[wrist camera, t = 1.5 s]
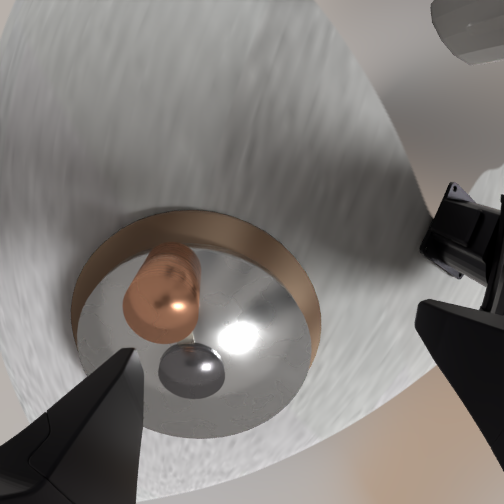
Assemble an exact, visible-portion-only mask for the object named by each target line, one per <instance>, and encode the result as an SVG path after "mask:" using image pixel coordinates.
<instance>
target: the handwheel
mask: <svg viewBox="0 0 504 504" xmlns="http://www.w3.org/2000/svg"><path fill="white" fill-rule="evenodd" d="M77 344H78V351H79V356H80V360H81V363H82V366H83V368H84V371H85V373H86V375H87V376H89V375H90V374H91V373H92V372H93V371H95V370H96V369H97V368H98V367H99V366H101V365H102V364H103V363H104V362H105V361H107V360H108V359H109V358H110V357H111V356H113V355H114V354H115V353H116V352H117V351H119V350H120V349H121V348H129V347H134V348H135V349H136V350H137V352H138V355H139V359H140V362H141V365H142V368H143V371H144V418H143V427H145V428H147V429H150V430H153V431H156V432H159V433H162V434H166V435H170V436H176V437H182V438H195V439H205V438H217V437H224V436H229V435H234V434H237V433H241V432H244V431H247V430H249V429H252V428H254V427H256V426H258V425H260V424H262V423H264V422H266V421H268V420H269V419H271V418H272V417H273V416H275V415H276V414H278V413H279V412H280V411H281V410H282V409H283V408H285V407H286V406H287V405H288V404H289V403H290V401H291V400H292V399H293V398H294V397H295V395H296V394H297V393H298V391H299V389H300V388H301V386H302V384H303V382H304V380H305V378H306V376H307V373H308V369H309V366H310V360H311V338H310V333H309V328H308V325H307V323H306V320H305V317H304V315H303V313H302V312H301V310H300V308H299V307H298V305H297V303H296V301H295V300H294V298H293V296H292V295H291V293H290V291H289V290H288V289H287V288H286V287H285V285H284V284H283V283H282V282H281V281H280V280H279V279H278V278H277V277H276V276H275V275H274V274H273V273H272V272H271V271H270V270H268V269H267V268H265V267H264V266H262V265H261V264H259V263H258V262H256V261H254V260H253V259H251V258H249V257H247V256H245V255H243V254H240V253H238V252H235V251H232V250H229V249H226V248H222V247H218V246H213V245H209V244H198V243H177V242H166V243H163V244H160V245H158V246H156V247H153V248H150V249H147V250H144V251H141V252H139V253H137V254H135V255H133V256H131V257H129V258H127V259H125V260H124V261H122V262H121V263H119V264H118V265H116V266H115V267H114V268H113V269H112V270H111V271H110V272H109V273H108V274H107V275H106V276H104V278H103V279H102V280H101V281H100V283H99V284H98V285H97V286H96V288H95V289H94V290H93V292H92V293H91V294H90V296H89V297H88V299H87V301H86V303H85V305H84V307H83V309H82V312H81V315H80V319H79V322H78V331H77Z"/></svg>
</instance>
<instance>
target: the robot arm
mask: <svg viewBox="0 0 504 504" xmlns="http://www.w3.org/2000/svg"><path fill="white" fill-rule="evenodd" d="M453 187H454V190H453ZM500 202H501V210H497V209H494V208H491V207H487V206H484V205H480V204H477V203H475V201H474V200H473V199H472V198H471V197H470V196H469V195H468V194H467V193H466V192H465V191H464V190H463V189H462V188H461V187H460V186H459V185H458V184H457V183H455V182H450V183H449V185H448V187H447V190H446V193H445V195H444V197H443V199H442V202H441V204H440V206H439V208H438V211H437V213H436V215H435V217H434V219H433V222H432V224H431V226H430V228H429V230H428V232H427V234H426V236H425V238H424V240H423V242H422V244H421V247H420V253H421V254H423V255H424V256H426V257H427V258H428V259H430V260H431V261H433V262H434V263H436V264H437V265H439V266H440V267H441V268H443V269H444V270H446V271H447V272H448V273H450V274H451V275H453V276H454V277H455V278H457V279H461V278H462V277H463V275H466V276H468V277H469V278H471V279H473V280H475V281H476V282H478V283H480V284H481V285H483V286H485V287H487V288H486V292H485V296H484V299H483V303H482V306H480V309H479V310H476V309H471V308H467V307H463V306H458V305H454V304H449V303H445V302H441V301H436V300H432V299H427V300H424V301H421V302H420V303H419V304H418V308H417V313H416V318H415V329H416V331H417V332H418V334H419V336H420V337H421V339H422V341H423V342H424V344H425V346H426V347H427V349H428V351H429V353H430V354H431V356H432V358H433V359H434V361H435V363H436V364H437V366H438V367H439V368H440V370H441V371H442V373H443V374H444V375H445V377H446V378H447V380H448V381H449V383H450V384H451V386H452V387H453V388H454V390H455V392H456V393H457V395H458V396H459V398H460V399H461V401H462V402H463V404H464V405H465V407H466V408H467V410H468V411H469V413H470V415H471V416H472V418H473V419H474V421H475V422H476V424H477V426H478V427H479V429H480V431H481V432H482V434H483V436H484V437H485V439H486V441H487V442H488V444H489V446H490V447H491V449H492V451H493V453H494V455H495V457H496V458H497V460H498V462H499V464H500V466H501V467H502V469H503V471H504V195H503V194H501V201H500ZM426 247H427V249H426ZM425 249H426V251H425ZM143 418H144V371H143V368H142V365H141V362H140V359H139V355H138V352H137V350H136V349H135V348H134V347H129V348H121V349H120V350H119V351H117V352H116V353H115V354H114V355H113V356H111V357H110V358H109V359H108V360H107V361H105V362H104V363H103V364H102V365H101V366H99V367H98V368H97V369H96V370H95V371H93V372H92V373H91V374H90V375H89V376H87V377H86V378H85V379H84V380H83V381H81V382H80V383H79V384H78V385H77V386H75V387H74V388H73V389H72V390H71V391H69V392H68V393H67V394H66V395H65V396H64V397H62V398H61V399H60V400H59V401H58V402H56V403H55V404H54V405H53V406H52V407H50V408H49V409H48V410H47V412H44V413H43V414H42V415H41V416H40V417H39V418H37V419H36V420H35V421H34V422H33V423H31V424H30V425H29V426H28V427H26V428H25V429H24V430H22V431H21V432H20V433H19V434H17V435H16V436H14V437H13V438H11V439H10V440H9V441H7V442H6V443H4V444H3V445H1V446H0V504H136V491H137V478H138V467H139V456H140V447H141V438H142V430H143Z"/></svg>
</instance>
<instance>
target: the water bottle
mask: <svg viewBox="0 0 504 504" xmlns="http://www.w3.org/2000/svg"><path fill="white" fill-rule="evenodd" d="M431 16H432V23H433V25H434V27H435V29H436V31H437V33H438V35H439V37H440V38H441V40H442V42H443V43H444V44H445V45H446V46H447V48H448V49H449V50H450V51H451V52H452V54H453V55H455V56H456V57H458V58H460V59H461V60H463V61H464V62H466V63H467V64H469V65H477V64H484V63H490V62H496V61H502V60H504V0H434V1H433V2H432V3H431Z"/></svg>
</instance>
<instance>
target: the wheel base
mask: <svg viewBox="0 0 504 504" xmlns="http://www.w3.org/2000/svg"><path fill="white" fill-rule="evenodd" d="M166 242H177V243H198V244H209V245H213V246H218V247H222V248H226V249H229V250H232V251H235V252H238V253H240V254H243V255H245V256H247V257H249V258H251V259H253V260H254V261H256V262H258V263H259V264H261V265H262V266H264V267H265V268H267V269H268V270H270V271H271V272H272V273H273V274H274V275H275V276H276V277H277V278H278V279H279V280H280V281H281V282H282V283H283V284H284V285H285V287H286V288H287V289H288V290H289V291H290V293H291V295H292V296H293V298H294V300H295V301H296V303H297V305H298V307H299V308H300V310H301V312H302V313H303V315H304V317H305V320H306V323H307V325H308V328H309V333H310V338H311V360H310V366H309V369H310V367H311V365H312V362H313V360H314V358H315V356H316V353H317V349H318V346H319V342H320V335H321V313H320V307H319V301H318V298H317V295H316V293H315V290H314V287H313V285H312V283H311V281H310V279H309V277H308V275H307V274H306V272H305V271H304V269H303V268H302V267H301V265H300V264H299V263H298V261H297V260H296V259H295V257H294V256H293V255H292V254H291V253H290V252H289V251H288V250H287V249H286V248H285V247H284V246H283V245H282V244H281V243H280V242H279V241H277V240H276V239H275V238H273V237H272V236H271V235H269V234H268V233H267V232H265V231H263V230H261V229H260V228H258V227H256V226H254V225H252V224H250V223H248V222H246V221H243V220H240V219H238V218H235V217H232V216H229V215H224V214H220V213H216V212H209V211H199V210H182V211H171V212H165V213H160V214H155V215H152V216H149V217H146V218H143V219H140V220H138V221H136V222H134V223H132V224H130V225H128V226H126V227H124V228H122V229H121V230H120V231H118V232H117V233H116V234H114V235H113V236H111V237H110V238H109V239H108V240H106V241H105V242H104V243H103V244H102V245H101V246H100V247H99V248H98V249H97V250H96V251H95V252H94V253H93V254H92V256H91V257H90V259H89V260H88V261H87V263H86V264H85V266H84V267H83V269H82V271H81V273H80V275H79V277H78V280H77V282H76V286H75V289H74V292H73V297H72V305H71V324H72V330H73V336H74V339H75V342H76V345H77V350H78V344H77V331H78V322H79V319H80V315H81V312H82V309H83V307H84V305H85V303H86V301H87V299H88V297H89V296H90V294H91V293H92V292H93V290H94V289H95V288H96V286H97V285H98V284H99V283H100V281H101V280H102V279H103V278H104V276H106V275H107V274H108V273H109V272H110V271H111V270H112V269H113V268H114V267H115V266H116V265H118V264H119V263H121V262H122V261H124V260H125V259H127V258H129V257H131V256H133V255H135V254H137V253H139V252H141V251H144V250H147V249H150V248H153V247H156V246H158V245H160V244H163V243H166ZM78 352H79V351H78ZM309 369H308V370H309Z"/></svg>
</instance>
